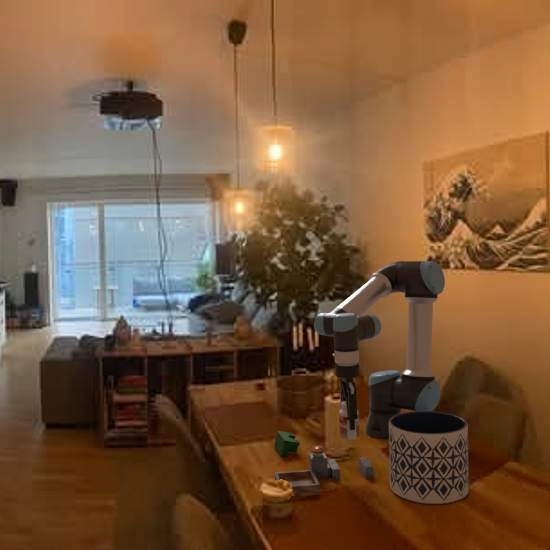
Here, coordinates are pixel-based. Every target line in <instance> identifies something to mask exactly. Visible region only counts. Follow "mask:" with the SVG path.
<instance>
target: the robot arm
mask: <svg viewBox="0 0 550 550" xmlns="http://www.w3.org/2000/svg"><path fill="white" fill-rule="evenodd" d="M445 282H446V279H445V273H444V270H443V269H442V267H441V266H440V264H438V263H437V262H435V261H428V260H414V261H413V260H411V261H410V260H409V261H408V260H407V261H406V260H399V261H398V260H397V261H395V262H394V261H393V262H391V263H389V264H387V265H385V266H383V267H381V268H380V269H378V270H377V271H375V272H374V273H373V274H371V275H370V276H369V278H368V281H367V282H366V283H365V284H363V285H362V286H361V287H359V288H358V289H357V290H356V291H354V292H353V293H352V294H351V295H350V296H348V297H347V298H346V299H345V300H344V301H342V302H341V303H340V304H339V305H337V306H335V308H333V310H331V311H330V312H321V313H318V314H317V315H316V317H315V318H314V323H313V325H314V330H315V332H316V333H317V334H318V335H320V336H326V337H333V343H334V345H333V346H334V349H333V350H334V353H332V356H333V357H334V362H335V365H334V371H335V377H337V378H339V390H340V396H339V397H340V398H339V399H340V403H341V402H343V401H346V406H347V416H348V417H347V418H345V419H346V420H347V437H348V440H347V441H355V440H357V439H358V438H357V434H356V419H358V416H357V410H358V401H357V399H358V398H357V387H356V382H355V381H354V378H357V377H358V376H360V364H359V362H360V349H359V342H362V341H365V340H368V339H369V340H371V339H373V338H375V337H377V336H379V334H380V332H381V330H382V322H381V320H380V318H379V317H378V316H376V315H374V314H364V313H366V312H367V311H369V309H370V308H371V307H372V306H373V305H375V304H376V303H377V302H378V301H380V300H381V298H385V297H389V295H391V294H394V293H396V294H397V293H403V294H404V298H405V300H406V301H407V303H408V309H407V310H408V313H407V315H408V316H407V338H406V339H407V342H406V362H405V363H406V368H405V369H404V370H403V371H402V373H401V372H400V370H397V369H396V370H395V369H393V370H392V369H390V370H389V369H388V370H383V371H382V370H381V371H377V372H373V373H371V374H370V375H369V377H368V397H369V400H368V402H369V404H368V405H369V414H368V416H367V420H366V423H365V426H364V427H365V434H366V435H368V436H369V437H373V438H377V439H387V440H389V420H390V418H391V417H393V416H395V415H397V414H401V413H402V410H407V411H411V412H415V411H433V412H434V410H435V409H436V407H437V406H438V404H439V402H440V399H441V396H442V395H441V393H442V387H441V384H440V383H439V381H437V380H436V378H435V376H436V375H435V373H433V371H432V346H433V345H432V342H433V341H432V339H433V314H434V313H433V312H434V303H435V302H436V301H437V300H438V297H439V295H440V294H441V293H443V291H444V289H445V285H446V284H445ZM363 314H364V315H363ZM340 408H341V405H340Z"/></svg>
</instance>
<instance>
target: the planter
mask: <svg viewBox="0 0 550 550" xmlns="http://www.w3.org/2000/svg"><path fill="white" fill-rule="evenodd" d="M468 426H469V424H468V422H467V420H466V419H464V418H463V417H460V416H458V415H455V414H451V413H447V412H440V411H434V410H433V411H406V412H401V414H397V415H395V416H393V417H391V418H390V420H389V439H388V447H389V448H388V449H389V452H388V453H389V455H388V456H389V457H388V459H389V485H390V486H389V487H390V489H391V491H392V492H393V493H394V494H396V495H397V496H399V497H400V498H402V499H405V500H406V501H407V500H408V501H410V502H413V503H418V504H426V505H443V504H444V503H446V504H451V503H454V501H455V502H457V500H458V501H459V500H462V499H463V498H465V497H466V496H467V495H468V493H469V490H470V487H469V486H470V482H469V481H470V480H469V477H470V476H469V475H470V474H469V428H468ZM450 502H451V503H450ZM444 505H445V504H444Z"/></svg>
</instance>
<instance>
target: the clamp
mask: <svg viewBox="0 0 550 550" xmlns="http://www.w3.org/2000/svg"><path fill="white" fill-rule="evenodd" d="M274 440H275V441H274V448H275V450H276V451H277V453H278V454H279V455H280V456H282V457H283V456H284V457H287V456H288V454H289V453H291V454H292V453H293V454H297V452H298V448H299V447H300V445H301V441H300V440H299V439H296V435H295V434H294V433H292V432H287V431H281V430H277V431H276V434H275V439H274Z"/></svg>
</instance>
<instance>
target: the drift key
mask: <svg viewBox="0 0 550 550" xmlns="http://www.w3.org/2000/svg"><path fill="white" fill-rule="evenodd" d="M310 452H311V454H313V453H314V458H320V457H322V453H325V446H323V445H312V446H311V450H310Z"/></svg>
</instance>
